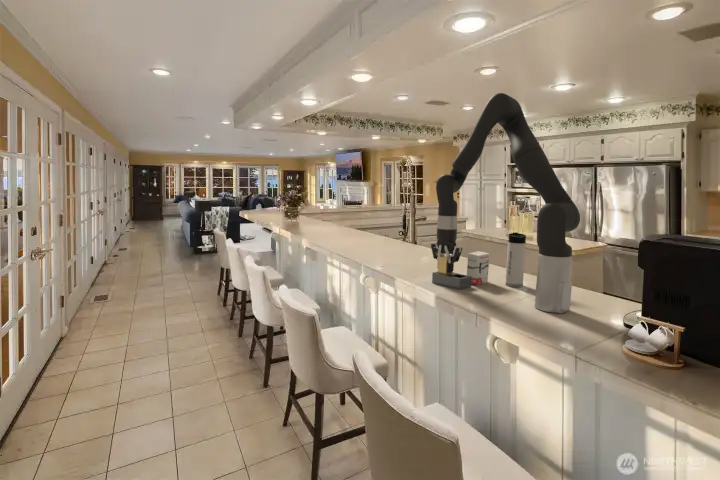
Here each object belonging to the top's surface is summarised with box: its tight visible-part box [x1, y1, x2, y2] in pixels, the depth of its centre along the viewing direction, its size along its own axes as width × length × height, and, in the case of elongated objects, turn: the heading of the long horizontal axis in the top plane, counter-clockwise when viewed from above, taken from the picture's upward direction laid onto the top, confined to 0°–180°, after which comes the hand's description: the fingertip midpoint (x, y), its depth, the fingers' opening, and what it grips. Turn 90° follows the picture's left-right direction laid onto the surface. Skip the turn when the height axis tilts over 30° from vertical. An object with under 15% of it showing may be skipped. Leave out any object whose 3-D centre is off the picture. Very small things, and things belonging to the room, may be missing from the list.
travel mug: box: [505, 232, 527, 288], centre depth 157 cm, size 6×7×20 cm
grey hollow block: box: [431, 271, 472, 291], centre depth 157 cm, size 13×7×4 cm, turn 40°
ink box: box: [466, 250, 491, 286], centre depth 161 cm, size 8×5×12 cm, turn 134°
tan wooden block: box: [437, 255, 453, 275], centre depth 159 cm, size 4×4×8 cm
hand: (445, 271), depth 159 cm, fingers closed on tan wooden block, 4 cm apart
